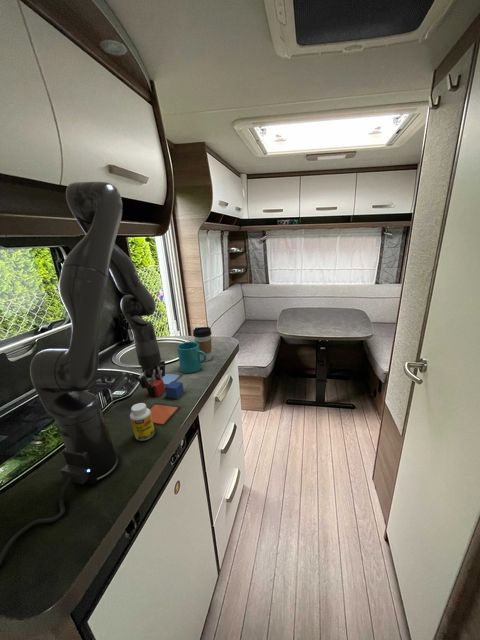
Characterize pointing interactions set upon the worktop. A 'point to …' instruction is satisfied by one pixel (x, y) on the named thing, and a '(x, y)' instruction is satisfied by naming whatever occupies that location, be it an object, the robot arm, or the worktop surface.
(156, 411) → the orange coaster
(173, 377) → the blue coaster
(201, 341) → the coffee cup
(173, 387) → the blue block
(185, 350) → the cup
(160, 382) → the red block
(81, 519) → the worktop surface
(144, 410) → the supplement bottle
